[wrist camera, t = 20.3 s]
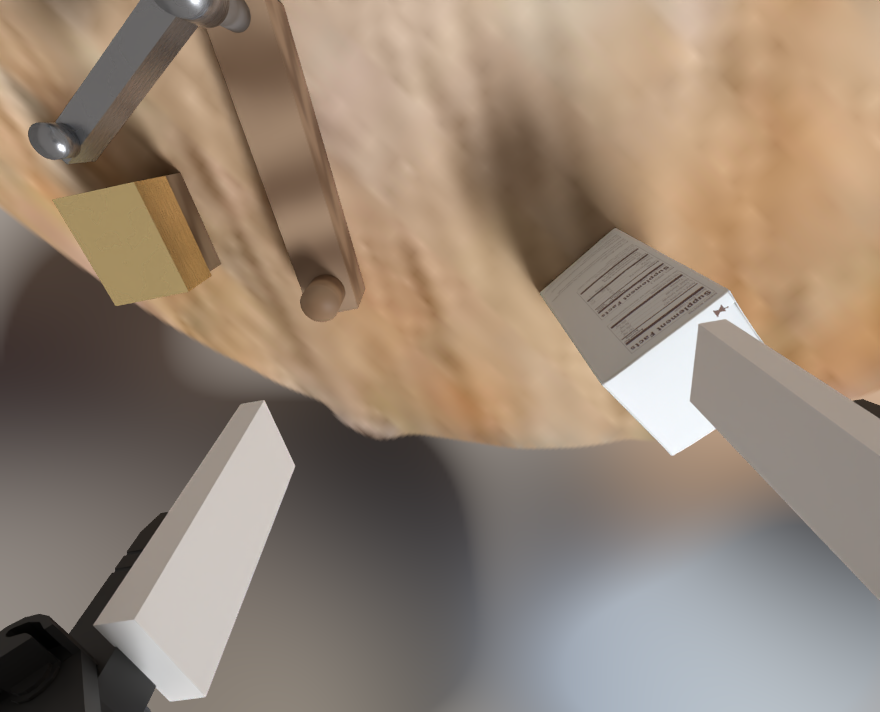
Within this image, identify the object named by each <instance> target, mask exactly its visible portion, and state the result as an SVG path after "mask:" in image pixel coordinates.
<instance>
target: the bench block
mask: <svg viewBox="0 0 880 712" xmlns="http://www.w3.org/2000/svg"><path fill="white" fill-rule="evenodd" d="M161 177H162V176H161ZM156 178H157V177H156ZM166 178H167V180H168V183H169V185H170V187H171V189H172V191H173V193H174V195H175V198H176V200H177V202H178V204H179V206H180V208H181V211H182V213H183V215H184V217H185V219H186V221H187V224H188V226H189V228H190V230H191V232H192V234H193V236H194V239H195V241H196V243H197V245H198V247H199V249H200V252H201V254H202V256H203V258H204V260H205V262H206V265H207V267H208V269H209V271H211V270H213V269H214V268H216V267H217V266H219V265H220V264H221V262H220V260H219V258H218V256H217V253H216V251H215V249H214V247H213V244H212V242H211V240H210V238H209V235H208V233H207V231H206V229H205V226H204V224H203V222H202V220H201V217H200V215H199V213H198V211H197V209H196V206H195V204H194V202H193V200H192V197H191V195H190V193H189V191H188V188H187V186H186V184H185V182H184V179H183V177H182V175H181V173H177V174H171V175H166ZM151 179H152V178H151Z"/></svg>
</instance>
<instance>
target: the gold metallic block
mask: <svg viewBox="0 0 880 712" xmlns="http://www.w3.org/2000/svg"><path fill="white" fill-rule="evenodd" d="M53 202H54V204H55V205H56V207H57V209H58V210H59V212H60V214H61V215H62V217H63V219H64V220H65V222H66V224H67V225H68V227H69V229H70V230H71V232H72V234H73V235H74V237H75V239H76V240H77V242H78V244H79V245H80V247H81V249H82V250H83V252H84V254H85V255H86V257H87V259H88V261H89V262H90V264H91V266H92V267H93V269H94V271H95V272H96V274H97V276H98V277H99V279H100V281H101V282H102V284H103V286H104V287H105V289H106V291H107V292H108V294H109V296H110V297H111V299H112V301H113V302H114V304H115V305H116V306H119V305H124V304H129V303H134V302H139V301H144V300H149V299H154V298H159V297H165V296H170V295H175V294H180V293H185V292H189V291H190V290H192V289H193V288H195V287H196V286H197V285H199V284H200V283H202V282H203V281H205V280H206V279H207V278H209V277H210V276H212V275H211V273H210V271H209V269H208V267H207V265H206V262H205V260H204V258H203V256H202V254H201V252H200V249H199V247H198V245H197V243H196V241H195V239H194V236H193V234H192V232H191V230H190V228H189V226H188V224H187V221H186V219H185V217H184V215H183V213H182V211H181V208H180V206H179V204H178V202H177V200H176V198H175V195H174V193H173V191H172V189H171V187H170V185H169V183H168V180H167V178H166V176H162V177H157V178H152V179H147V180H141V181H136V182H131V183H127V184H122V185H118V186H113V187H108V188H104V189H99V190H95V191H90V192H85V193H81V194H76V195H72V196H67V197H62V198H58V199H53Z"/></svg>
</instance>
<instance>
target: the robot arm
mask: <svg viewBox="0 0 880 712" xmlns="http://www.w3.org/2000/svg"><path fill="white" fill-rule="evenodd" d="M690 402H691V403H692V404H693V405H694V406H695V407H696V408H697V409H698V410H699V412H700V413H701V414H702V415H703V416H704V417H705V418H706V419H707V420H708V421H709V422H710V423H711V424H712V425H713V426H714V427H715V428H716V429H717V430H718V431H719V433H721V435H722V436H723V437H724V438H725V439H726V440H727V441H728V442H729V443H730V444H731V445H732V446H733V447H734V448H735V449H736V450H737V451H738V452H739V454H741V456H742V457H743V458H744V459H745V460H746V461H747V462H748V463H749V464H750V465H751V466H752V467H753V468H754V469H755V470H756V471H757V472H758V473H759V474H760V475H761V477H763V479H764V480H765V481H766V482H767V483H768V484H769V485H770V486H771V487H772V488H773V489H774V490H775V491H776V492H777V493H778V494H779V495H780V497H781V498H782V499H784V501H785V502H786V503H787V504H788V505H789V506H790V507H791V508H792V509H793V510H794V511H795V512H796V513H797V514H798V515H799V517H800V518H801V519H802V520H803V521H804V522H805V523H806V524H807V525H808V526H809V527H810V528H811V529H812V530H813V531H814V532H815V533H816V534H817V535H818V536H819V537H820V539H822V540H823V542H824V543H825V544H826V545H827V546H828V547H829V548H830V549H831V550H832V551H833V552H834V553H835V554H836V555H837V556H838V557H839V559H840V560H841V561H842V562H843V563H844V564H845V565H846V566H847V567H848V568H849V569H850V570H851V571H852V572H853V573H854V574H855V575H856V576H857V577H858V578H859V580H860V581H861V582H862V583H863V584H864V585H865V586H866V587H867V588H868V589H869V590H870V591H871V592H872V593H873V594H874V595H875V596H876V597H877V598H878V599H879V600H880V406H879V405H877V404H874V403H871V402H869V401H866V400H864V399H861V400H855V401H852V400H850V399H849V398H847V397H845V396H844V395H842V394H841V393H839V392H838V391H836V390H835V389H833V388H832V387H830V386H828V385H827V384H825V383H824V382H822V381H821V380H819V379H818V378H816V377H815V376H813V375H811V374H810V373H808V372H807V371H805V370H804V369H802V368H801V367H799V366H798V365H796V364H795V363H793V362H791V361H790V360H788V359H787V358H785V357H784V356H782V355H781V354H779V353H778V352H776V351H774V350H773V349H771V348H770V347H768V346H767V345H765V344H764V343H762V342H761V341H759V340H757V339H756V338H754V337H753V336H751V335H750V334H748V333H747V332H745V331H744V330H742V329H740V328H739V327H737V326H736V325H734V324H733V323H731V322H730V321H728V320H727V319H723V320H717V321H711V322H706V323H700V324H698V333H697V341H696V350H695V359H694V367H693V376H692V385H691V394H690ZM294 467H295V465H294V463H293V461H292V458H291V456H290V454H289V452H288V450H287V448H286V446H285V444H284V441H283V439H282V437H281V435H280V433H279V430H278V428H277V427H276V424H275V422H274V420H273V418H272V416H271V413H270V411H269V409H268V407H267V405H266V403H265V401H264V400H263V401H256V402H250V403H245V404H241V405H240V406H239V408H238V409H237V411H236V412H235V414H234V415H233V416H232V418H231V419H230V421H229V422H228V424H227V425H226V427H225V429H224V430H223V432H222V433H221V435H220V436H219V437H218V439H217V440H216V442H215V444H214V445H213V446H212V448H211V449H210V451H209V452H208V454H207V455H206V457H205V458H204V460H203V461H202V463H201V464H200V466H199V467H198V469H197V471H196V472H195V473H194V475H193V476H192V478H191V479H190V481H189V482H188V484H187V485H186V487H185V488H184V490H183V491H182V493H181V494H180V496H179V497H178V499H177V500H176V502H175V503H174V505H173V506H172V508H171V509H170V511H169V512H165V513H161V514H160V515H159V516H157V517H156V518H155V519H154V520H153V521H152V522H151V523H150V524H149V525H148V526H147V527H146V528H144V530H142V531H141V532H140V534H139V535H138V537H137V538H136V539H135V541H134V542H133V544H132V545H131V547H130V548H129V549H128V551H127V555H126V556H124V557H123V558H122V559H121V561H120V562H119V564H118V565H117V566H116V568H115V572H114V573H112V574H111V575H110V576H109V578H108V579H107V581H106V582H105V583H104V585H103V586H102V588H101V589H100V591H99V592H98V593H97V595H96V596H95V598H94V599H93V601H92V602H91V604H90V605H89V606H88V608H87V609H86V610H85V612H84V613H83V615H82V616H81V618H80V619H79V620H78V622H77V624H76V625H75V626H74V628H73V629H72V630H71V632H70V633H69V634H68V633H67V632H66V631H65V630H64V629H63V628H61V627H60V626H59V625H58V624H57V623H56V622H55V621H54V620H53V619H52V618H50V617H49V616H46V615H42V614H37V615H33V616H30V617H25V618H23V619H21V620H19V621H17V622H15V623H13V624H11V625H9V626H7V627H6V628H4V629H3V630H2V631H0V712H151V711H150V709H149V708H148V707H147V704H148V702H149V700H150V698H151V696H152V694H153V692H154V689H155V687H156V688H157V689H158V690H159V691H160V692H161V693H162V694H163V695H164V696H165V697H166V698H167V699H168V700H169V701H170V702H171V701H178V700H187V699H194V698H202V697H206V695H207V692H208V690H209V687H210V685H211V682H212V680H213V677H214V674H215V672H216V669H217V666H218V664H219V661H220V659H221V656H222V653H223V651H224V649H225V646H226V643H227V641H228V638H229V636H230V633H231V630H232V628H233V625H234V623H235V620H236V618H237V615H238V612H239V610H240V607H241V605H242V602H243V599H244V597H245V594H246V592H247V589H248V586H249V584H250V581H251V579H252V576H253V573H254V571H255V568H256V566H257V563H258V561H259V558H260V556H261V553H262V550H263V547H264V545H265V543H266V540H267V537H268V535H269V532H270V530H271V527H272V525H273V522H274V519H275V517H276V514H277V512H278V509H279V506H280V504H281V501H282V498H283V496H284V493H285V491H286V488H287V486H288V483H289V480H290V478H291V475H292V473H293V470H294Z"/></svg>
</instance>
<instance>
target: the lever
mask: <svg viewBox="0 0 880 712" xmlns="http://www.w3.org/2000/svg"><path fill="white" fill-rule="evenodd" d="M229 4H230V0H140V1H139V3H138V4H137V6H136V7H135V9H134V10H133V11H132V13H131V14H130V16H129V17H128V19H127V20H126V21H125V23H124V24H123V26H122V27H121V29H120V30H119V31H118V33H117V34H116V36H115V37H114V39H113V40H112V42H111V43H110V44H109V46H108V47H107V49H106V50H105V52H104V53H103V54H102V56H101V57H100V59H99V60H98V62H97V63H96V64H95V66H94V67H93V69H92V70H91V72H90V73H89V75H88V76H87V77H86V79H85V80H84V82H83V83H82V85H81V86H80V87H79V89H78V90H77V92H76V93H75V95H74V96H73V98H72V99H71V100H70V102H69V103H68V105H67V106H66V108H65V109H64V110H63V112H62V113H61V115H60V116H59V118H58V119H57V120H56V122H55V123H35V124H33V125H31V127H30V128H29V131H28V137H29V140H30V143H31V145H32V146H33V148H34V149H35V150H36V151H37V152H38V153H39V154H40V155H42V156H43V157H45V158H48V159H51V160H57V159H62V160H63V161H64V162H65V163H66V164H74V163H83V162H92V161H96V160H97V159H98V157H99V156H100V155H101V153H102V152H103V151H104V149H105V148H106V147H107V145H108V144H109V143H110V141H111V140H112V139H113V138H114V136H115V135H116V134H117V132H118V131H119V130H120V128H121V127H122V126H123V124H124V123H125V122H126V120H127V119H128V118H129V117H130V115H131V114H132V113H133V111H134V110H135V109H136V107H137V106H138V105H139V103H140V102H141V101H142V99H143V98H144V97H145V96H146V94H147V93H148V92H149V90H150V89H151V88H152V86H153V85H154V84H155V82H156V81H157V80H158V78H159V77H160V76H161V74H162V73H163V72H164V71H165V69H166V68H167V67H168V65H169V64H170V63H171V61H172V60H173V59H174V57H175V56H176V55H177V53H178V52H179V51H180V50H181V48H182V47H183V46H184V44H185V43H186V42H187V40H188V39H189V38H190V36H191V35H192V34H193V32H194V31H195V30H196V29H197V27H198V26H199V27H202V28H214V27H217V26H219V25H220V24H221V23H222V22H223V21H224V20H225V18H226V16H227V14H228V11H229Z"/></svg>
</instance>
